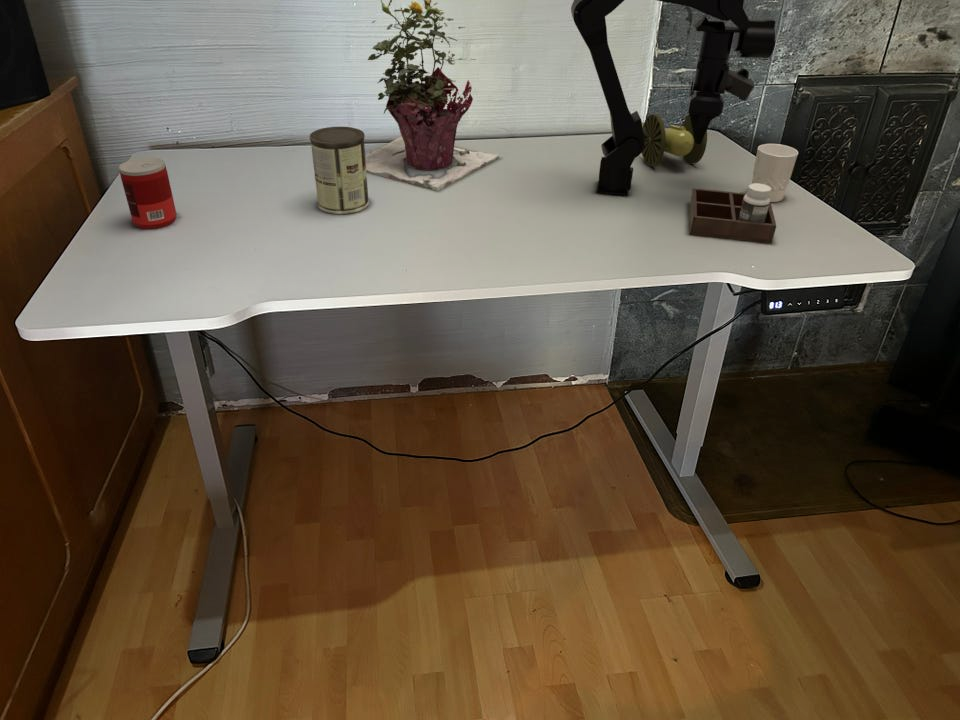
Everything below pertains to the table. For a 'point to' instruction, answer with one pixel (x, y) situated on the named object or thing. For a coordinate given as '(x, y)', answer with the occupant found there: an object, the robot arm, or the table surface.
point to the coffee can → (340, 169)
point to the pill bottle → (755, 203)
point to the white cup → (774, 168)
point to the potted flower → (422, 109)
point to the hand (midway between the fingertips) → (698, 136)
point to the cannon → (670, 141)
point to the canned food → (148, 192)
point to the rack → (726, 217)
